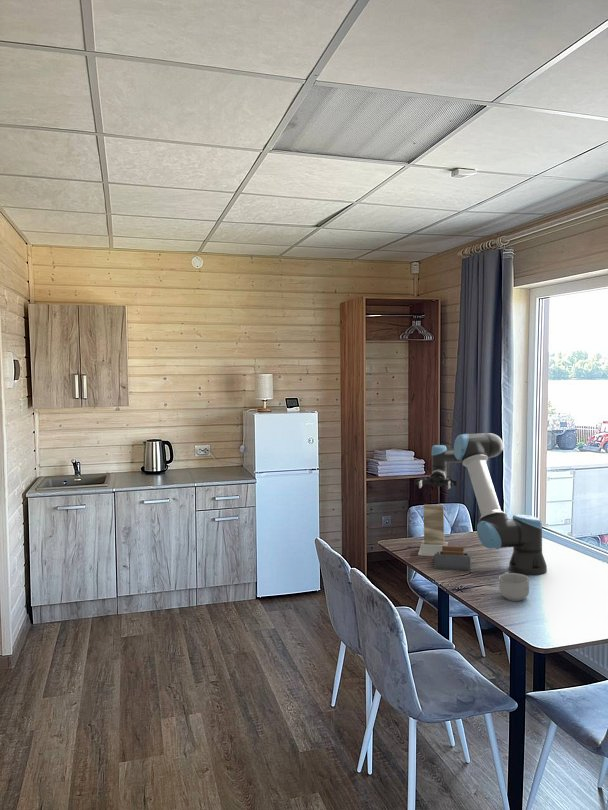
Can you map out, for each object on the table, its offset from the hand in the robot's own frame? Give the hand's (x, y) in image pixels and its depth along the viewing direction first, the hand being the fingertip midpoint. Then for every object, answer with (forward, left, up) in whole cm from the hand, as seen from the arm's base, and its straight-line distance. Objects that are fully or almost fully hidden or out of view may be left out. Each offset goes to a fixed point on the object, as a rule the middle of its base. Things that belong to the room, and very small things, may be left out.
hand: (434, 485), depth 288 cm
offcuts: (-17, +20, -30) cm, 40 cm away
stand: (-2, +6, -32) cm, 33 cm away
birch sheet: (-2, +6, -30) cm, 31 cm away
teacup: (-49, +38, -32) cm, 70 cm away
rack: (-17, +18, -32) cm, 40 cm away
